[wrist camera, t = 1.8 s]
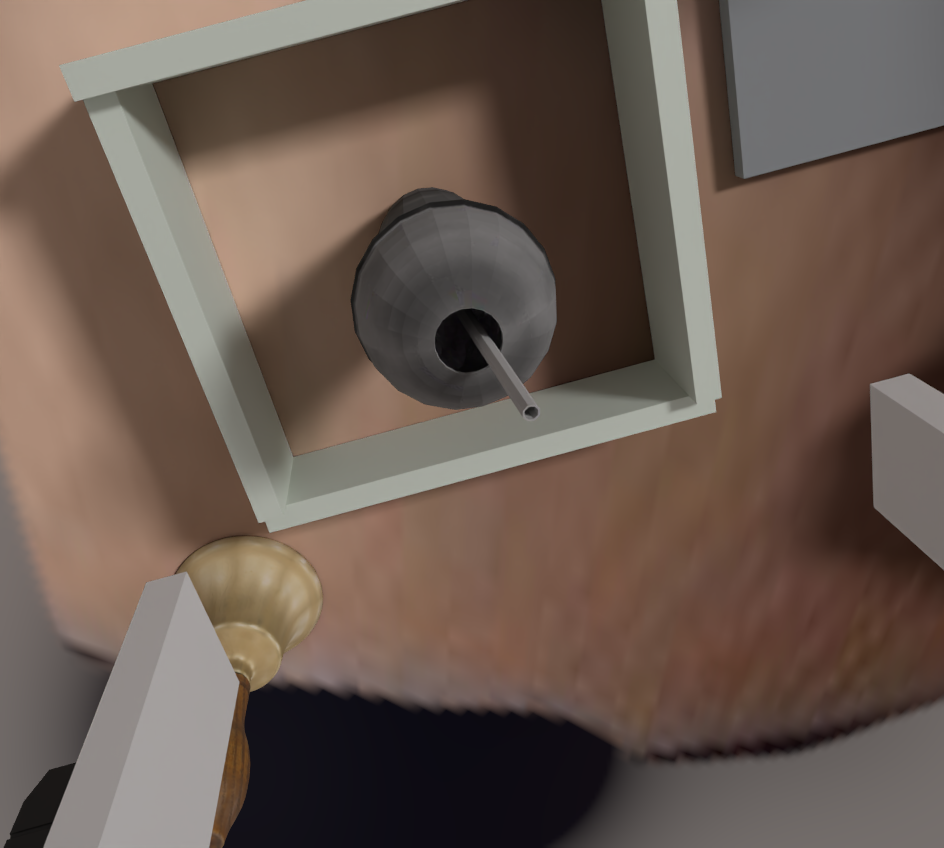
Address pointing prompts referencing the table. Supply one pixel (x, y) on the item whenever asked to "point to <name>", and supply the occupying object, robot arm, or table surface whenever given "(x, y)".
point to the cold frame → (464, 433)
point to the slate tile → (828, 76)
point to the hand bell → (251, 633)
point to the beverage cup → (455, 302)
